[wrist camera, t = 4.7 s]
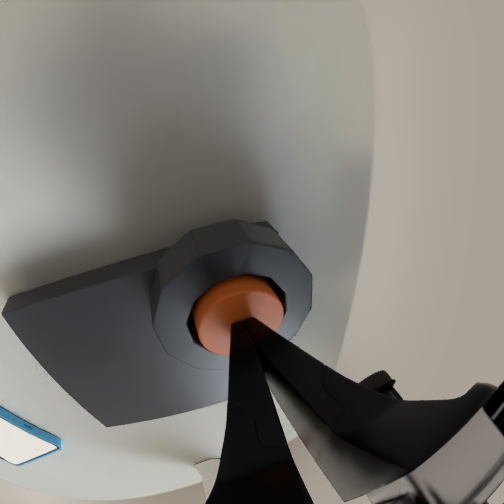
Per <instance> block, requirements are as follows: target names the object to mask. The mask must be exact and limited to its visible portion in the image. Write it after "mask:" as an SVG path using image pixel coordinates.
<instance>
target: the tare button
mask: <svg viewBox="0 0 504 504" xmlns="http://www.w3.org/2000/svg"><path fill="white" fill-rule="evenodd" d="M191 311H192V314H193V318H194V322H195V326H196V329H197V333H198V336H199V339H200V341H201V343H202V344H203V346H204V347H205V348H206V349H208V350H209V351H211V352H213V353H215V354H219V355H225V356H229V354H230V332H231V324H232V323H233V322H236V321H240V320H242V321H243V319H246V318H249V317H252V316H253V317H255V318H257V319H258V320H260V321H261V322H262V323H264V324H265V325H267V326H268V327H270V328H271V329H272V330H274V331H275V332H277V331H278V330H279V328H280V326H281V324H282V321H283V317H284V310H283V306H282V303H281V302H280V300H279V298H278V297H277V295H276V294H275V292H274V291H273V289H272V288H271V287H270V285H269V284H268V282H267V281H266V279H265V278H264V276H257V275H251V274H242V275H239V276H236V277H232V278H229V279H226V280H222V281H219V282H216V283H215V284H214V285H213V286H211V287H210V288H209V289H208V290H207V291H206V292H205V293H203V294H202V295H201V296H200V297H199V298H198V299H196V300H195V301H194V303H193V305H192V308H191Z"/></svg>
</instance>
